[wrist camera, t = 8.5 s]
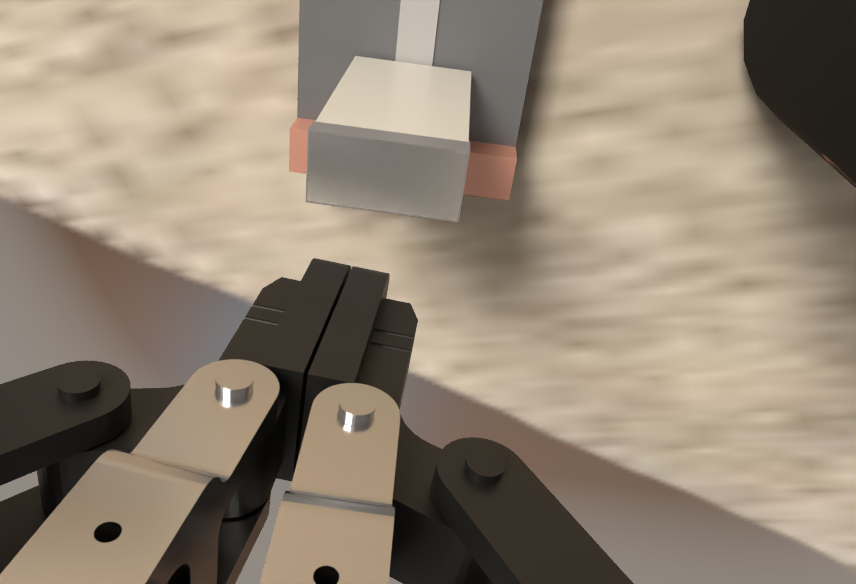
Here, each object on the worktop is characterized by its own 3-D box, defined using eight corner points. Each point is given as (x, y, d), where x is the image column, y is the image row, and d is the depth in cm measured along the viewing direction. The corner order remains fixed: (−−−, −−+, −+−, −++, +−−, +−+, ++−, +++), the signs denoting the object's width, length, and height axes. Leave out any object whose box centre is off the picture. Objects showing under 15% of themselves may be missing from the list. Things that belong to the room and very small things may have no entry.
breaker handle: (354, 54, 31) (307, 129, 22) (472, 70, 31) (469, 150, 22) (350, 111, 32) (305, 202, 24) (464, 126, 32) (458, 222, 24)
